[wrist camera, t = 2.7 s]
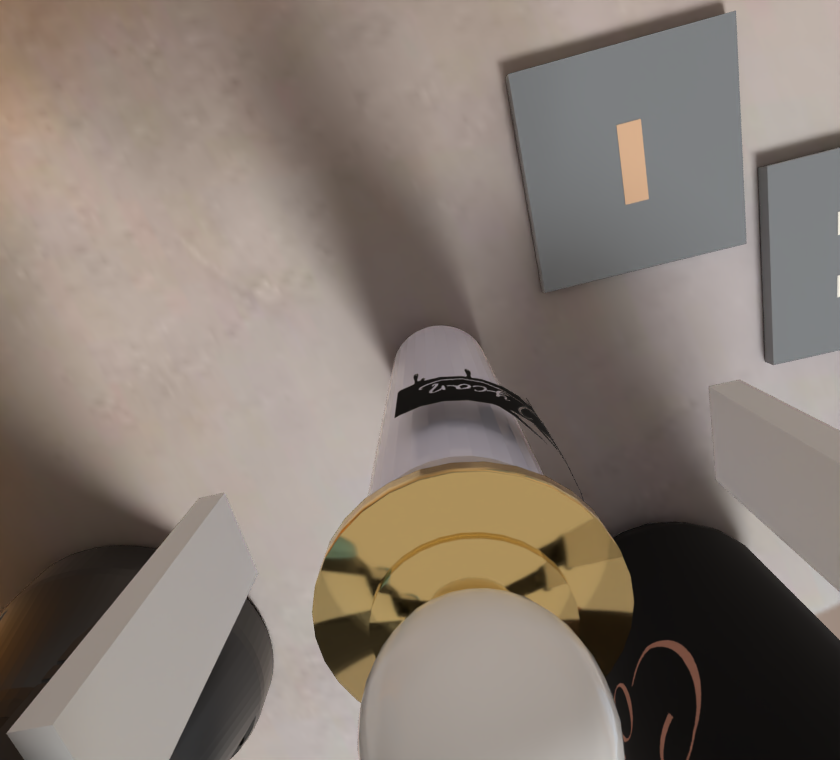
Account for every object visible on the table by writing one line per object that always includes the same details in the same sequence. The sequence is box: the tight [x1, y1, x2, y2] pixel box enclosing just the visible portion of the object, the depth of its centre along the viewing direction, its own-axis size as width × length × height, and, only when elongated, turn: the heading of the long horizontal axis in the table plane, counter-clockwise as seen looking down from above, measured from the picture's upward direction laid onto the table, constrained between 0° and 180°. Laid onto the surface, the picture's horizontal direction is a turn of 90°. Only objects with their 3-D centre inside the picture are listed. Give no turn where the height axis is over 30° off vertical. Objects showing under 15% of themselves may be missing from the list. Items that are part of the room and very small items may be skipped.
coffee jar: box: [605, 522, 840, 760], centre depth 20 cm, size 11×11×18 cm
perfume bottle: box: [312, 325, 634, 760], centre depth 15 cm, size 6×6×20 cm
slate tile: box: [506, 11, 746, 293], centre depth 21 cm, size 9×9×1 cm
